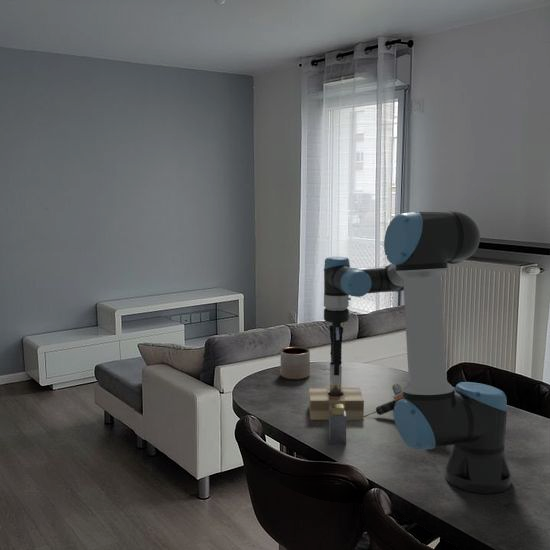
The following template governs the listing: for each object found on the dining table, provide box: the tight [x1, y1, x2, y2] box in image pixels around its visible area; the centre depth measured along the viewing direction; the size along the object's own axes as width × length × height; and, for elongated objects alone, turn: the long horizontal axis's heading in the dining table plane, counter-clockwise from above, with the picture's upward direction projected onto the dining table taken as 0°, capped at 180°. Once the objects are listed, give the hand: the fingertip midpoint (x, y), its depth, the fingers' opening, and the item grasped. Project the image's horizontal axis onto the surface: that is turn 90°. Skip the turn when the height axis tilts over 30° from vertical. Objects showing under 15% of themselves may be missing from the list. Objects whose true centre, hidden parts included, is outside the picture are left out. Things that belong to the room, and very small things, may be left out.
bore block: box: [308, 387, 365, 421], centre depth 200 cm, size 12×16×6 cm
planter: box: [279, 346, 311, 381], centre depth 237 cm, size 11×11×10 cm
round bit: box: [329, 355, 343, 396], centre depth 199 cm, size 4×4×12 cm
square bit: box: [328, 404, 347, 445], centre depth 178 cm, size 4×4×10 cm
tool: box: [364, 383, 403, 418], centre depth 193 cm, size 4×27×30 cm
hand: (335, 382), depth 199 cm, fingers closed on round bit, 3 cm apart
